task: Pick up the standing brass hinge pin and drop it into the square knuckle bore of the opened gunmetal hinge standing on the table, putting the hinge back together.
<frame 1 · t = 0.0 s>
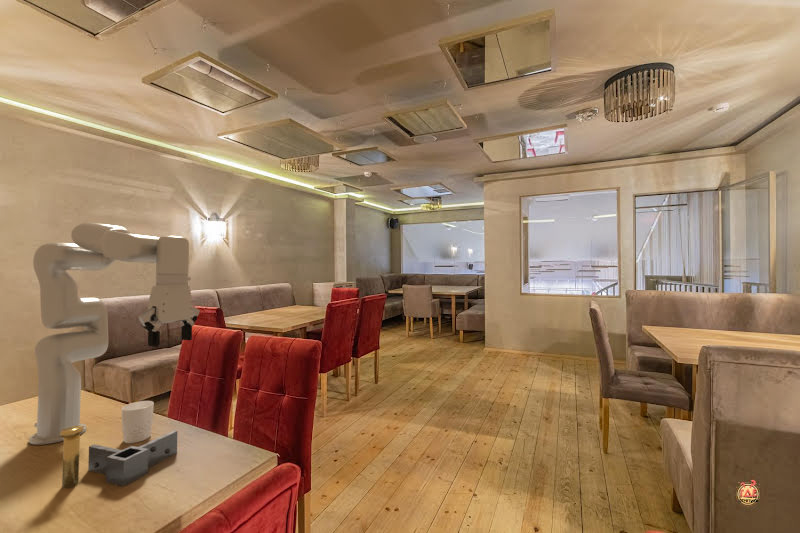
hand: (170, 342, 95), 31 cm above the table, tool pointing down, fingers open, 9 cm apart
white cup: (137, 439, 105), on the table
hinge body: (127, 477, 85), on the table
hinge pin: (70, 484, 82), on the table
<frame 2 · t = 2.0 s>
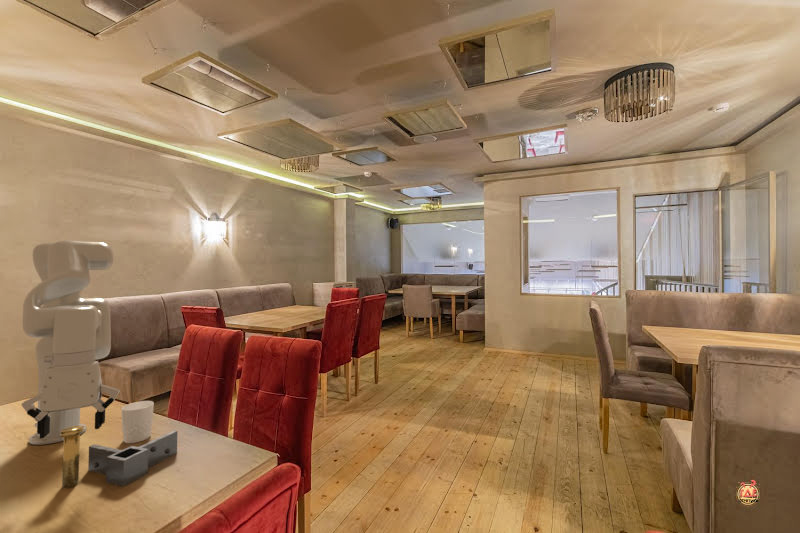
hand: (72, 431, 82), 13 cm above the table, tool pointing down, fingers open, 9 cm apart
nothing on the table moved.
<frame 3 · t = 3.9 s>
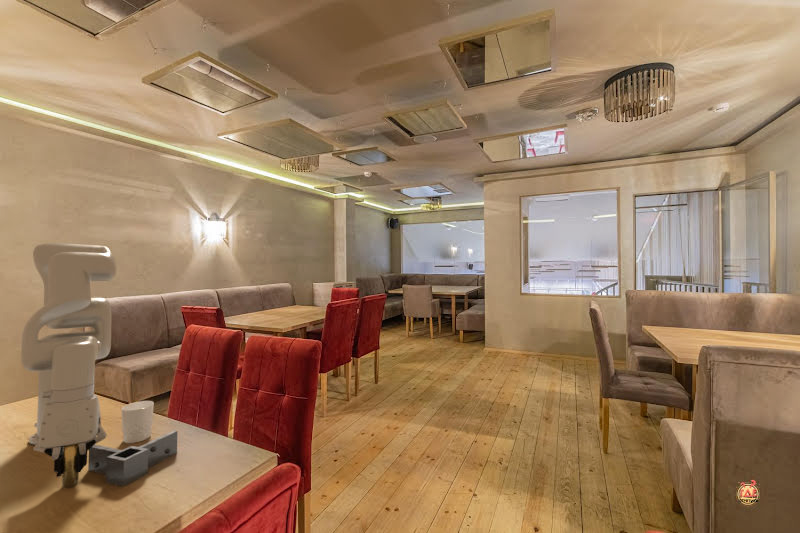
hand: (70, 470, 82), 3 cm above the table, tool pointing down, fingers closed on hinge pin, 2 cm apart
hinge pin: (70, 484, 82), on the table, touching gripper
everything else where it was.
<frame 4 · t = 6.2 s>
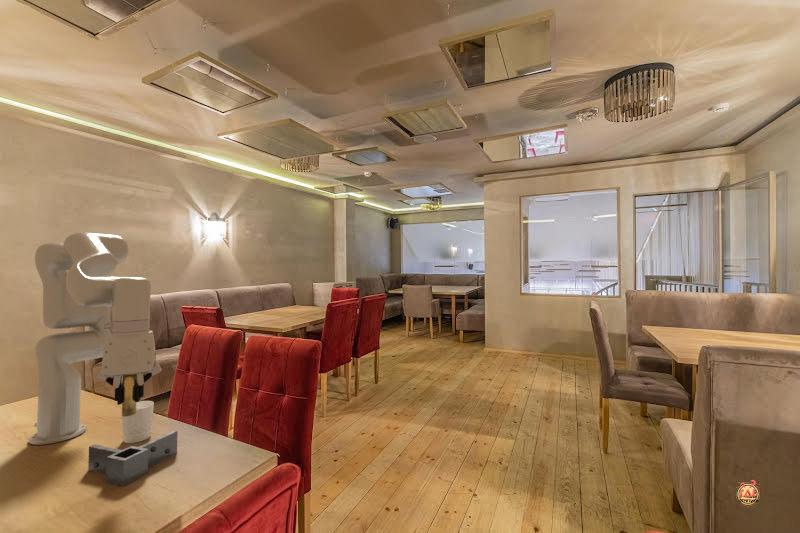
hand: (129, 401, 85), 19 cm above the table, tool pointing down, fingers closed on hinge pin, 2 cm apart
hinge pin: (129, 414, 85), point 15 cm above the table, touching gripper
everything else where it was.
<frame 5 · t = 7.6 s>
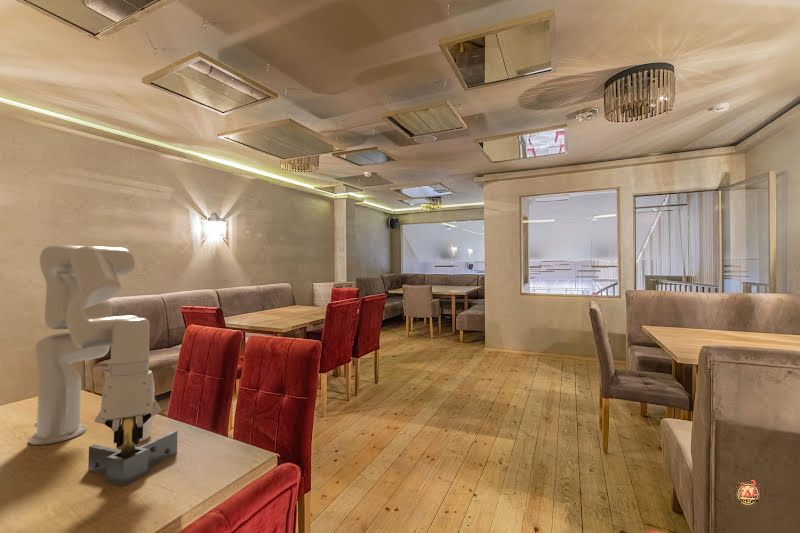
hand: (128, 442, 85), 8 cm above the table, tool pointing down, fingers closed on hinge pin, 2 cm apart
hinge pin: (128, 456, 85), point 5 cm above the table, touching gripper
everything else where it was.
when the fingers open (7 cm above the table, at t = 8.5 s): hinge pin drops 3 cm, resting in hinge body.
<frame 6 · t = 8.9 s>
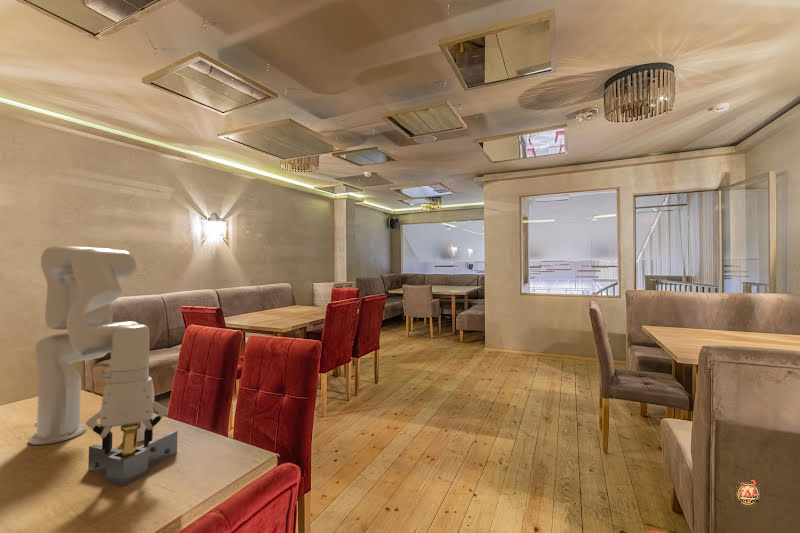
hand: (128, 447, 85), 7 cm above the table, tool pointing down, fingers open, 7 cm apart
hinge pin: (126, 477, 85), resting in hinge body
everything else where it was.
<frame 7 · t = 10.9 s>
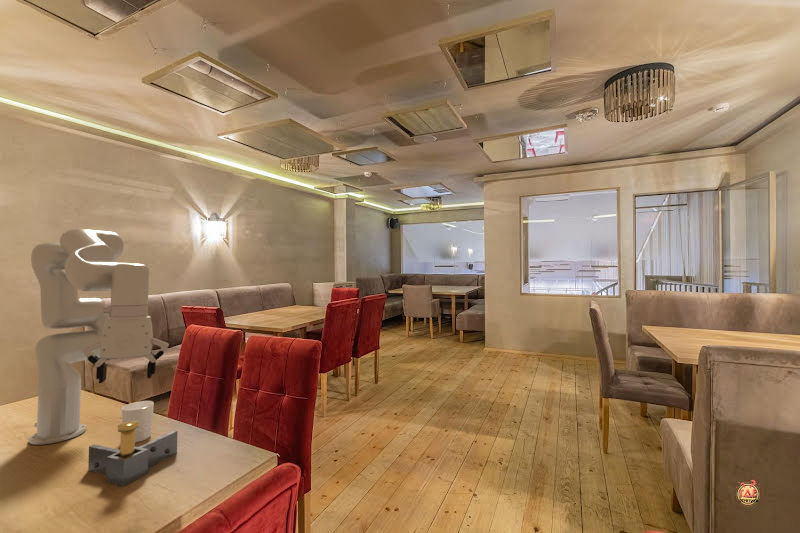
hand: (126, 379, 88), 23 cm above the table, tool pointing down, fingers open, 9 cm apart
nothing on the table moved.
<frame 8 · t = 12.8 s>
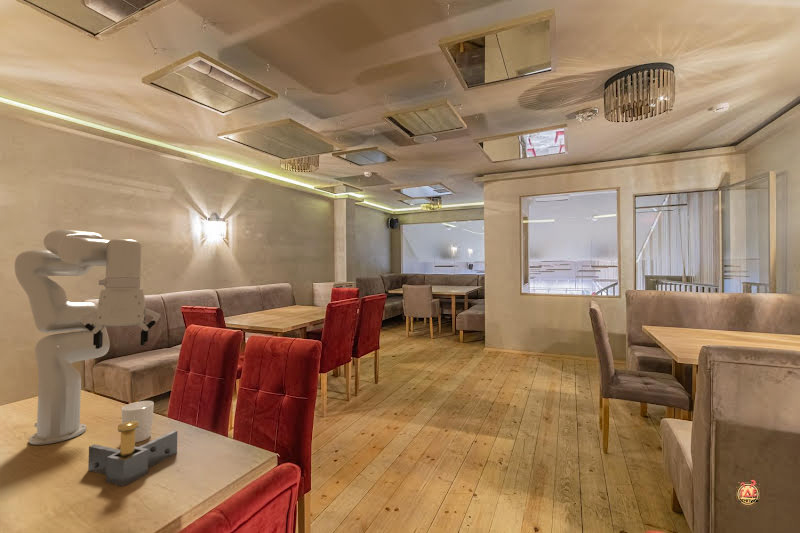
hand: (121, 346, 95), 30 cm above the table, tool pointing down, fingers open, 9 cm apart
nothing on the table moved.
at the end: hinge pin 0.1 cm off-centre on the hinge body, point 0.0 cm above the hinge body's base; hinge pin tilted 0°; the gripper is holding nothing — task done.
